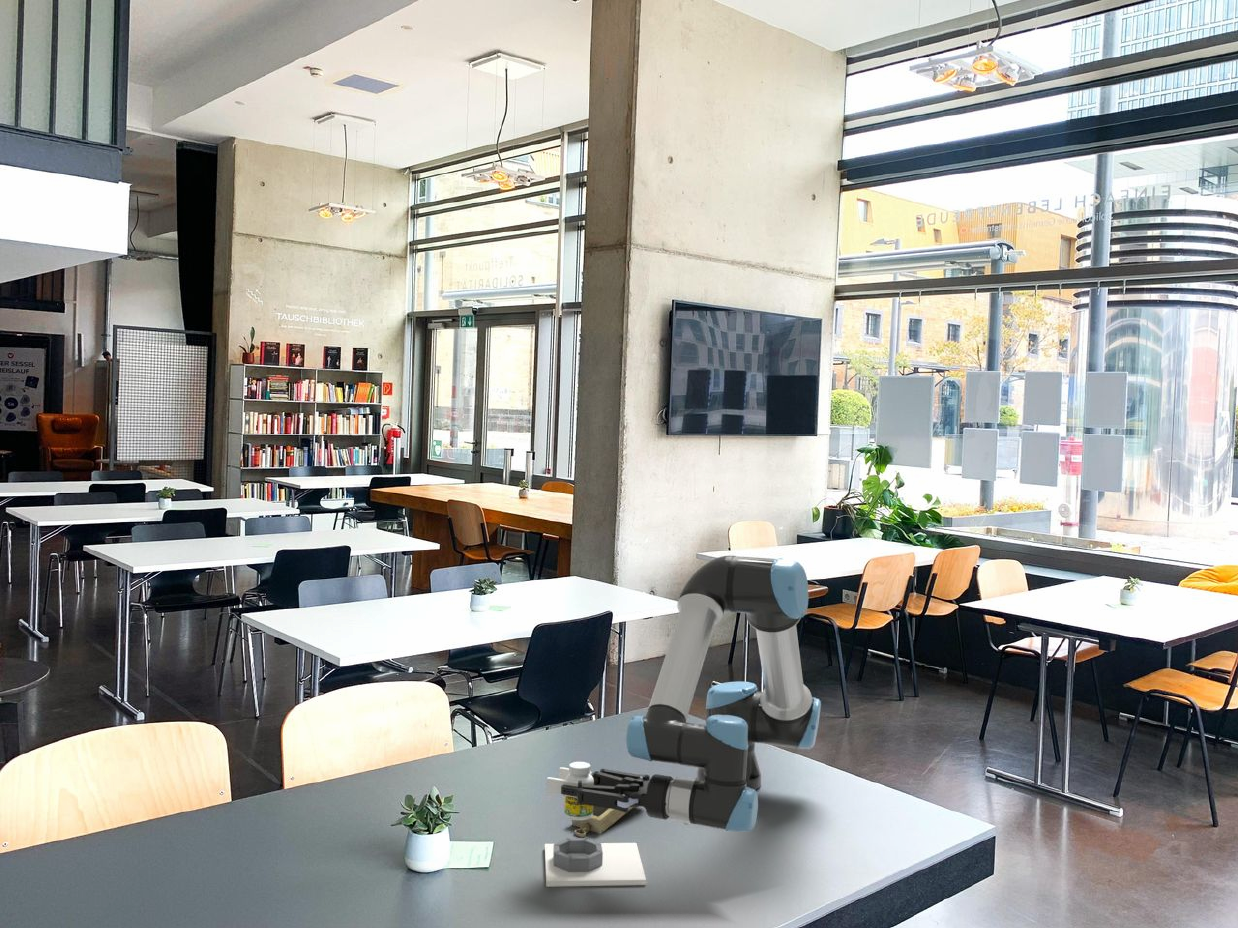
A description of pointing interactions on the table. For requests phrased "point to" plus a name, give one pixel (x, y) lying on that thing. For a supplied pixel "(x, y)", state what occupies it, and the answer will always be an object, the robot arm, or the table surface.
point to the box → (598, 820)
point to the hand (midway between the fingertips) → (553, 779)
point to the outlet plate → (604, 875)
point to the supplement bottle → (572, 808)
